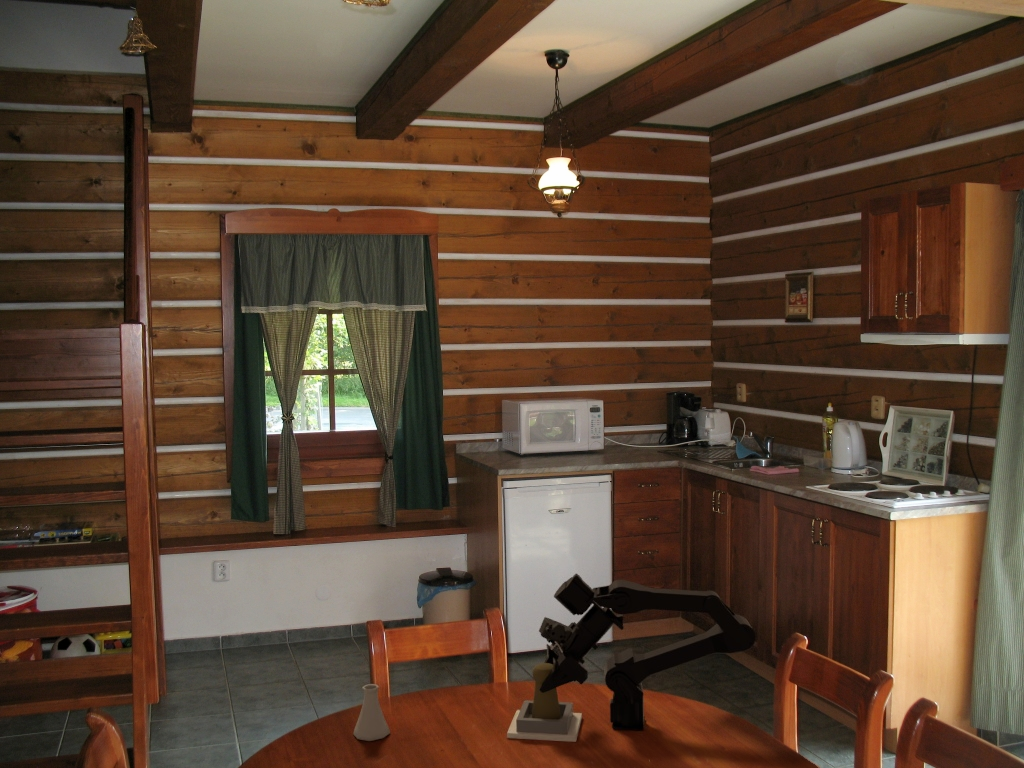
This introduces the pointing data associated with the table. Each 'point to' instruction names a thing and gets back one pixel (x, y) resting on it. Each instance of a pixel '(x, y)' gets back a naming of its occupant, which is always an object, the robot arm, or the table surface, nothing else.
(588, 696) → the table surface
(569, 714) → the socket
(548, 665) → the cork
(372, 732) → the flask
